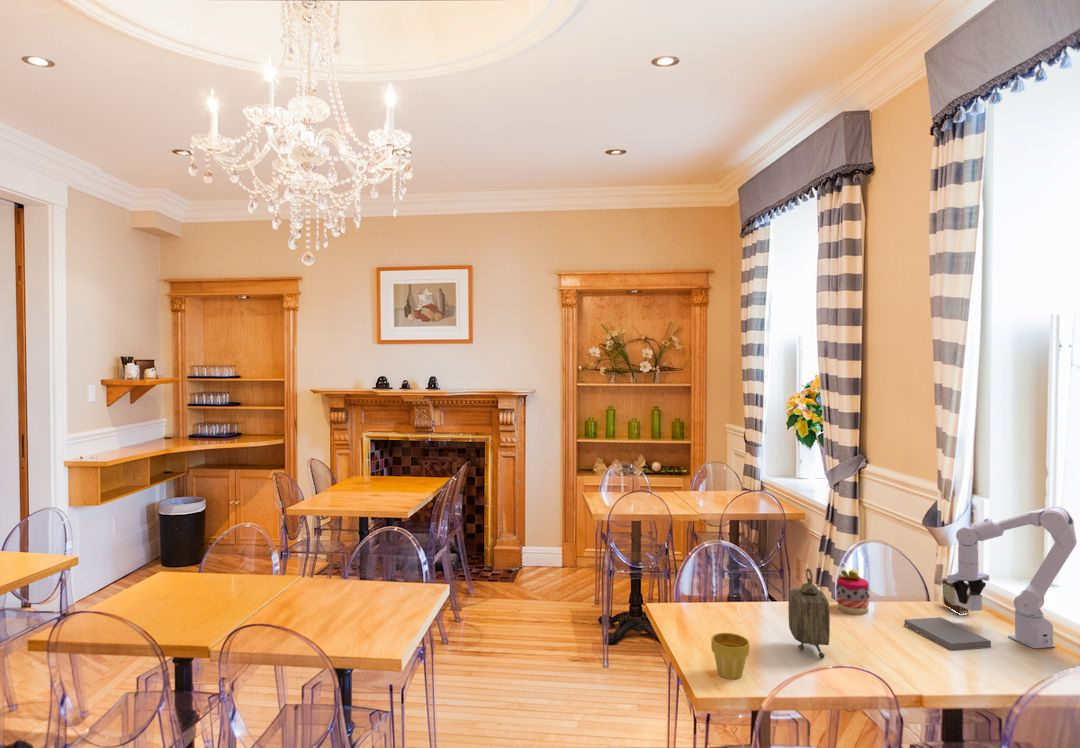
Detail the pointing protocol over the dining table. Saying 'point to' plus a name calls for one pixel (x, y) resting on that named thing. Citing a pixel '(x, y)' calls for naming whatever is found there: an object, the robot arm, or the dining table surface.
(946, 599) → the food container
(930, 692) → the dining table surface
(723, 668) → the plant pot
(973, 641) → the grey flat block
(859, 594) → the cake
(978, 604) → the housing
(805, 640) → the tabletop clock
